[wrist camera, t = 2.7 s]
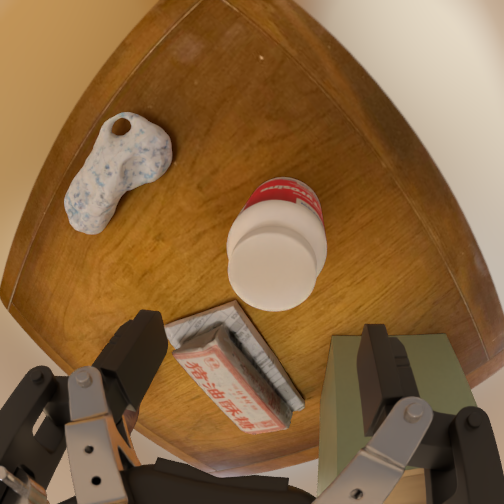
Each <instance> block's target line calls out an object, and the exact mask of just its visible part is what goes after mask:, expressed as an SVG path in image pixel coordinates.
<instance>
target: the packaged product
mask: <svg viewBox="0 0 504 504" xmlns="http://www.w3.org/2000/svg"><path fill="white" fill-rule="evenodd" d="M164 328H165V332H166V336H167V338H168V339H169V341H170V343H171V344H172V345H173V346H174V347H175V349H176V350H174V351H173V352H172V354H173V356H174V357H175V358H176V360H177V361H178V362H179V363H180V365H181V366H182V367H183V368H184V369H185V371H186V372H187V373H188V374H189V375H190V376H191V378H192V379H193V380H194V381H195V382H196V383H197V384H198V385H199V386H200V387H201V388H202V390H203V391H204V392H205V393H206V394H207V395H208V396H209V397H210V398H211V399H212V400H213V401H214V402H215V403H216V404H217V406H218V407H219V408H220V409H221V410H222V411H223V412H224V413H225V414H226V415H227V416H228V417H229V418H230V419H231V420H232V421H233V422H234V423H235V424H236V425H237V426H238V427H239V429H240V430H242V431H244V432H246V433H250V434H257V433H264V432H274V431H278V430H283V429H287V428H289V425H290V423H291V421H290V420H291V418H292V412H293V411H301V410H302V409H304V408H305V401H304V400H303V398H302V397H301V395H300V394H299V393H298V391H297V390H296V388H295V387H294V385H293V384H292V382H291V380H290V379H289V377H288V375H287V374H286V372H285V370H284V369H283V367H282V365H281V364H280V362H279V360H278V359H277V357H276V356H275V354H274V353H273V352H272V351H271V349H270V348H269V347H268V345H267V344H266V343H265V341H264V340H263V338H262V337H261V336H260V334H259V333H258V331H257V330H256V328H255V327H254V326H253V324H252V323H251V321H250V320H249V318H248V317H247V316H246V314H245V313H244V311H243V310H242V308H241V307H240V306H239V304H238V303H237V301H236V300H234V301H232V302H229V303H226V304H223V305H221V306H218V307H215V308H212V309H210V310H207V311H204V312H201V313H198V314H195V315H192V316H189V317H186V318H183V319H180V320H177V321H175V322H172V323H169V324H167V325H165V326H164Z"/></svg>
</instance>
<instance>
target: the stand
mask: <svg viewBox="0 0 504 504" xmlns="http://www.w3.org/2000/svg"><path fill="white" fill-rule="evenodd" d="M388 337H397V338H398V339H399V340H400V342H401V343H402V344H403V345H404V346H405V349H406V352H407V355H408V359H409V362H410V366H411V368H412V371H413V374H414V378H415V381H416V384H417V388H418V391H419V395H420V398H422V399H424V400H425V401H426V402H428V403H429V404H430V406H431V407H432V410H433V411H436V412H440V413H446V414H453V415H457V413H458V412H459V411H460V410H461V409H462V408H464V407H467V406H475V407H477V405H476V402H475V399H474V397H473V394H472V392H471V389H470V387H469V384H468V382H467V380H466V377H465V375H464V373H463V370H462V368H461V366H460V363H459V361H458V359H457V357H456V355H455V352H454V350H453V348H452V346H451V344H450V342H449V340H448V338H447V336H446V334H445V333H444V334H425V335H396V336H388ZM360 341H361V336H332V339H331V345H330V351H329V357H328V363H327V368H326V374H325V379H324V384H323V389H322V394H321V399H320V437H319V465H318V483H317V497H318V496H319V495H320V494H321V493H322V492H323V491H324V490H325V489H326V488H327V487H328V486H329V485H330V484H331V483H332V482H333V480H334V479H335V478H336V477H337V476H338V475H339V474H340V473H341V472H342V470H343V469H344V468H345V467H346V466H347V465H348V463H349V462H350V461H351V460H352V459H353V458H354V456H355V455H356V454H357V453H358V452H359V450H360V449H361V448H364V447H365V446H366V444H367V443H368V442H369V441H370V439H371V438H372V437H373V436H372V437H364V426H363V416H362V407H361V398H360V390H359V382H358V375H357V366H356V363H357V353H358V349H359V345H360ZM417 468H418V467H412V466H406V468H405V470H411V469H417Z"/></svg>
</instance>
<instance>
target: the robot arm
mask: <svg viewBox="0 0 504 504" xmlns="http://www.w3.org/2000/svg"><path fill="white" fill-rule="evenodd" d="M167 349H168V340H167V336H166V332H165V328H164V324H163V320H162V316H161V313H160V312H159V311H151V310H140V311H139V313H138V314H137V315H136V317H135V318H134V319H133V320H129V321H128V322H126V323H125V324H123V325H122V326H120V328H119V329H118V330H117V332H116V333H115V334H114V336H113V337H112V338H111V340H110V341H109V343H108V344H107V345H106V346H105V348H104V349H103V350H102V352H101V353H100V355H99V356H98V357H97V359H96V360H95V361H94V363H93V364H92V366H84V367H81V368H78V369H77V370H75V371H74V372H73V373H72V374H71V375H70V376H54V375H53V373H52V371H51V370H50V368H49V367H47V366H37V367H35V368H32V369H31V370H30V371H28V373H27V374H26V375H25V377H24V378H23V379H22V381H21V382H20V383H19V385H18V386H17V387H16V389H15V390H14V392H13V393H12V394H11V396H10V397H9V398H8V400H7V401H6V403H5V404H4V406H3V407H2V409H1V410H0V504H50V503H49V501H48V500H47V494H46V489H47V487H48V485H49V482H50V480H51V478H52V476H53V474H54V472H55V470H56V468H57V466H58V464H59V462H60V460H61V458H62V456H63V454H64V451H65V450H66V448H67V451H68V458H69V464H70V470H71V476H72V481H73V485H74V490H75V495H76V496H74V497H71V498H70V499H67V500H65V501H63V502H60V503H58V504H383V503H384V501H385V500H386V499H387V497H388V496H389V494H390V493H391V492H392V490H393V489H394V487H395V486H396V484H397V483H398V481H399V480H400V478H401V477H402V475H403V474H404V472H405V468H406V466H412V467H418V468H424V476H425V488H426V504H504V475H503V470H502V465H501V461H500V456H499V452H498V449H497V444H496V441H495V437H494V433H493V430H492V427H491V423H490V420H489V417H488V415H487V414H486V413H485V412H484V411H483V410H482V409H480V408H478V407H475V406H467V407H464V408H462V409H461V410H460V411H459V412H458V413H457V415H453V414H446V413H440V412H436V411H433V410H432V407H431V406H430V404H429V403H428V402H426V401H425V400H424V399H422V398H420V395H419V391H418V388H417V384H416V381H415V378H414V374H413V371H412V368H411V366H410V362H409V359H408V355H407V352H406V349H405V346H404V345H403V344H402V343H401V342H400V340H399V339H398V338H397V337H388V333H387V330H386V327H385V325H384V324H365V325H364V327H363V332H362V336H361V341H360V345H359V349H358V353H357V363H356V366H357V375H358V382H359V390H360V398H361V407H362V416H363V426H364V437H372V436H373V437H372V438H371V439H370V441H369V442H368V443H367V444H366V446H365V447H364V448H361V449H360V450H359V452H358V453H357V454H356V455H355V456H354V458H353V459H352V460H351V461H350V462H349V463H348V465H347V466H346V467H345V468H344V469H343V470H342V472H341V473H340V474H339V475H338V476H337V477H336V478H335V479H334V480H333V482H332V483H331V484H330V485H329V486H328V487H327V488H326V489H325V490H324V491H323V492H322V493H321V494H320V495H319V496H318V497H317V498H316V497H314V496H312V495H311V494H310V493H308V492H306V491H304V490H302V489H299V488H297V487H293V486H290V485H288V481H289V478H284V477H269V476H259V475H251V476H240V477H226V478H219V477H215V476H213V475H210V474H208V473H206V472H203V471H201V470H199V469H197V468H194V467H192V466H190V465H188V464H184V463H179V462H175V461H171V460H167V459H163V458H159V457H158V458H157V461H156V463H155V464H148V465H141V463H140V462H139V460H138V458H137V456H136V453H135V451H134V448H133V444H132V441H131V438H130V435H129V431H128V428H127V425H126V421H125V418H124V416H123V414H124V412H125V410H126V409H127V410H131V411H134V412H136V411H137V409H138V407H139V405H140V403H141V401H142V399H143V397H144V395H145V393H146V392H147V390H148V388H149V386H150V384H151V382H152V380H153V378H154V376H155V374H156V372H157V370H158V368H159V366H160V365H161V363H162V361H163V359H164V357H165V355H166V353H167ZM42 411H43V412H44V413H45V414H46V417H45V419H44V421H43V422H42V424H41V426H40V427H39V429H38V431H37V432H36V434H35V436H33V433H32V429H33V426H34V424H35V422H36V421H37V419H38V417H39V416H40V414H41V413H42Z"/></svg>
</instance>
